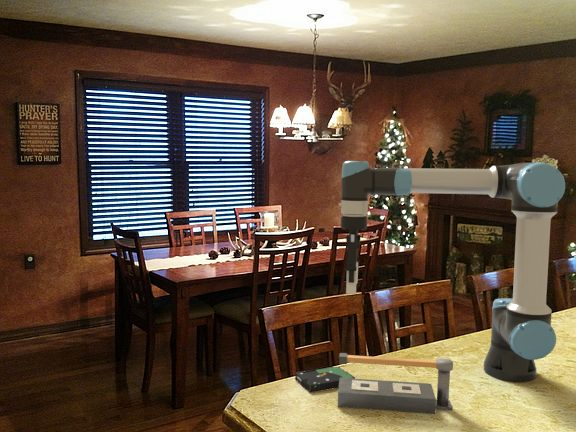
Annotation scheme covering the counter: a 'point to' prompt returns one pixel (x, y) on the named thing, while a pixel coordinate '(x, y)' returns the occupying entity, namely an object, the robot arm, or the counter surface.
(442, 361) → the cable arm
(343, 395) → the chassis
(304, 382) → the disk drive
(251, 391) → the counter surface
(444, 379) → the pivot post
